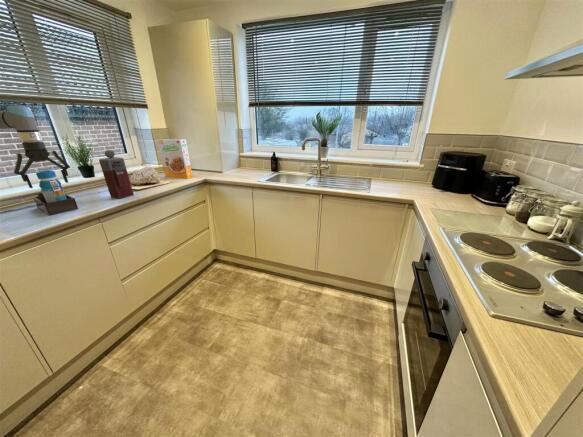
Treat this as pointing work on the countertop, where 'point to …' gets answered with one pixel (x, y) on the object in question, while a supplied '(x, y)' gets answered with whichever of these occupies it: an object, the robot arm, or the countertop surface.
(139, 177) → the bread loaf on board
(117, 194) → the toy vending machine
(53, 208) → the caddy
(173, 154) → the cereal box
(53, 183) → the beverage bottle
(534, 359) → the countertop surface
